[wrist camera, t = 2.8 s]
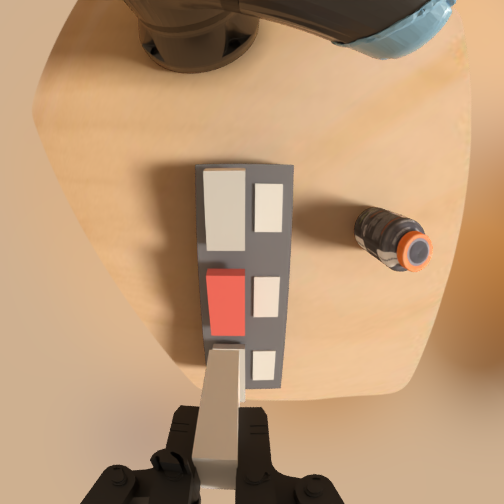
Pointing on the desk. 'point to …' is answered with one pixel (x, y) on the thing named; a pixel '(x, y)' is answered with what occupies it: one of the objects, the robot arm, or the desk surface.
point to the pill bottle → (393, 239)
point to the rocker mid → (226, 301)
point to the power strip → (255, 268)
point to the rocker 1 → (224, 208)
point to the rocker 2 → (241, 363)
